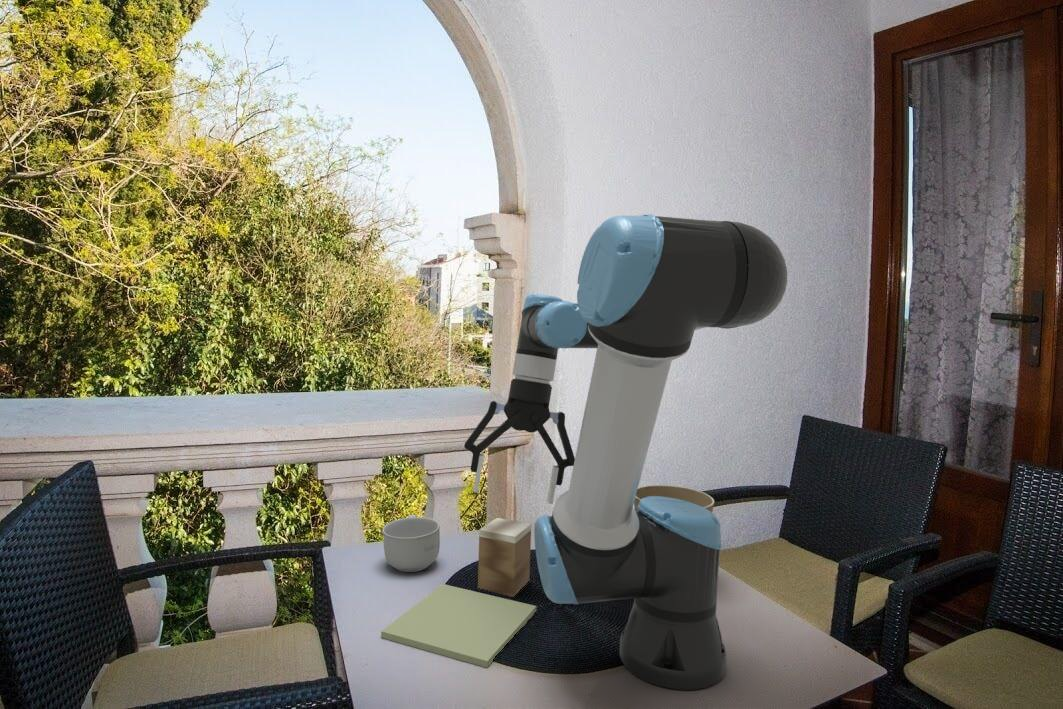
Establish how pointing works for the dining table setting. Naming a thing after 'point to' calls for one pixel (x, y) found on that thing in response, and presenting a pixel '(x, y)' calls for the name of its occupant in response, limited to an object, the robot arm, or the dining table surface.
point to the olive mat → (460, 624)
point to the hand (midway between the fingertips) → (512, 496)
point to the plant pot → (675, 495)
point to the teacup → (411, 543)
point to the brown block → (504, 556)
